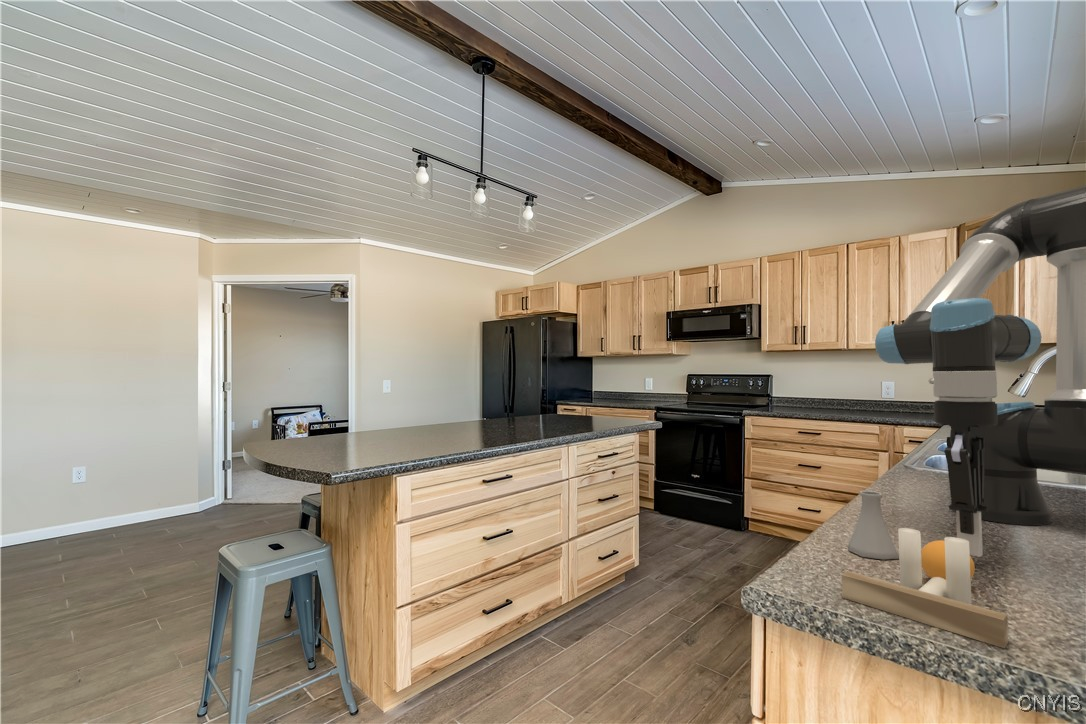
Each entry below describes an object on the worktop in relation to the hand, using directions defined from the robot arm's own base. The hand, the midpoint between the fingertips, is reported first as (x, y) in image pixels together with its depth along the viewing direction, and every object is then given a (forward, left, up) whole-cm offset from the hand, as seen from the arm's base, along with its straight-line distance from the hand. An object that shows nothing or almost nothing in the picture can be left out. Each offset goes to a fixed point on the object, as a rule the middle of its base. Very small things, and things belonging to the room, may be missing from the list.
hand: (970, 553), depth 76 cm
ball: (+11, 0, +1) cm, 11 cm away
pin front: (+16, 0, -1) cm, 16 cm away
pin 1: (+18, -2, -2) cm, 19 cm away
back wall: (+25, 0, -2) cm, 26 cm away
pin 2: (+18, +2, -2) cm, 19 cm away
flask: (+5, -12, -2) cm, 13 cm away
